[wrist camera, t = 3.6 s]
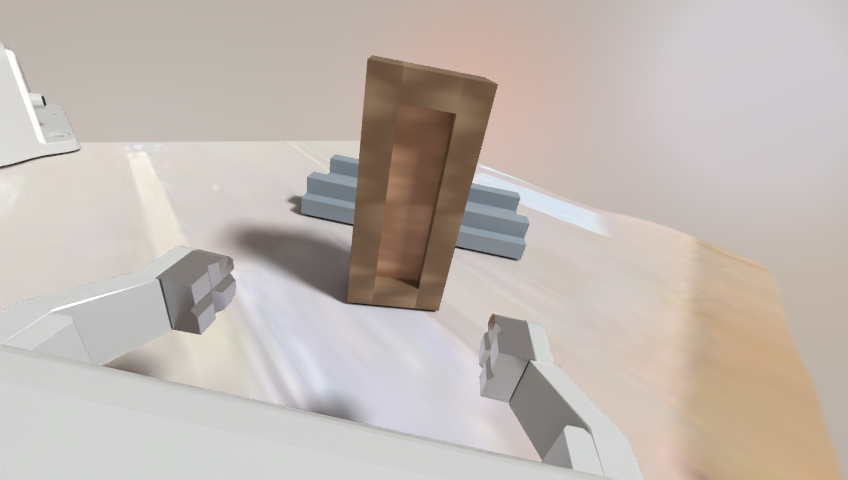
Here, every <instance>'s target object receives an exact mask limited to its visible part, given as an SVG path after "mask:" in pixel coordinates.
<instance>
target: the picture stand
mask: <svg viewBox="0 0 848 480" xmlns="http://www.w3.org/2000/svg"><path fill="white" fill-rule="evenodd" d="M358 166H359V159H354V158H349V157H345V156H340V155H334V156H333V157H332V158H331V161H330V173H329V174H327V175H326V174H321V173H316V172H313V173H312V174H311V175H309V176H308V177H307V193H306V194H305V195H304V196H303V197H302V198H301V213H302V214H307V215H312V216H316V217H321V218H326V219H331V220H335V221H340V222H345V223H350V224H354V212H355V201H356V189H357V178H358ZM519 200H520V196H519V193H516V192H511V191H507V190H502V189H497V188H492V187H488V186H483V185H478V184H473V183H472V185H471V188H470V192H469V196H468V200H467V204H466V207H465V211H464V215H463V219H462V223H461V226H460V230H459V234H458V238H457V242H456V246H458V247H463V248H468V249H473V250H477V251H482V252H487V253H492V254H496V255H501V256H506V257H510V258H515V259H520V260H521V257H522V254H523V252H524V249H525V246H526V244H525V241H524V237H525V234H526V231H527V229H528V226H529V222H528V219H527V217H526V216H521V215H517V214H516V209H517V206H518V203H519Z"/></svg>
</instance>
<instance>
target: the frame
mask: <svg viewBox="0 0 848 480" xmlns="http://www.w3.org/2000/svg"><path fill="white" fill-rule="evenodd" d="M497 85H498V84H496V83H494V82H492V81H490V80H488V79H486V78H484V77H480V76H475V75H470V74H465V73H459V72H454V71H449V70H444V69H439V68H434V67H428V66H423V65H418V64H413V63H408V62H403V61H398V60H393V59H388V58H382V57H378V56H373V55H372V56H371V57H370V58H368V61H367V73H366V84H365V97H364V108H363V119H362V131H361V143H360V154H359V166H358V178H357V189H356V201H355V212H354V224H353V236H352V247H351V259H350V271H349V282H348V294H347V302H351V303H362V304H373V305H383V306H394V307H405V308H416V309H426V310H437V311H438V310H439V306H440V303H441V299H442V295H443V291H444V287H445V284H446V280H447V276H448V272H449V268H450V265H451V261H452V257H453V253H454V249H455V246H456V242H457V238H458V234H459V230H460V226H461V223H462V219H463V215H464V211H465V207H466V204H467V200H468V196H469V192H470V188H471V185H472V181H473V177H474V173H475V169H476V166H477V162H478V158H479V154H480V150H481V146H482V143H483V139H484V135H485V131H486V127H487V124H488V119H489V116H490V112H491V108H492V105H493V100H494V97H495V93H496V89H497Z"/></svg>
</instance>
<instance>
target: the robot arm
mask: <svg viewBox="0 0 848 480" xmlns="http://www.w3.org/2000/svg"><path fill="white" fill-rule="evenodd" d="M80 148H81V146H80V144H79V142H78V140H77V138H76V135H75V133H74V131H73V129H72V127H71V125H70V122H69V120H68V118H67V116H66V114H65V111H64V109H63V107H62V106H61V105H58V104H53V103H47V102H45V99H44V97H43V96H41V94H40V93H31V91H30V88H29V86H28V83H27V80H26V77H25V75H24V72H23V70H22V67H21V65H20V62H19V60H18V59H17V58H16V57H15V55H14V53H13V52H12V51H11V50H10V49H9V48H8V47H7V46H6V45H5V44H4V43H3V42H2V41H1V40H0V166H4V165H9V164H13V163H17V162H20V161H24V160H27V159H31V158H34V157H38V156H43V155H50V154H57V153H63V152H69V151H74V150H78V149H80ZM233 269H234V265H233V259H231V258H230V257H228V256H224V255H220V254H216V253H212V252H207V251H203V250H199V249H194V248H190V247H185V246H177V247H175V248H174V249H172V250H171V251H169V252H168V253H166V254H165V255H163V256H162V257H160V258H159V259H157V260H156V261H154V262H153V263H151V264H150V265H149V266H147V267H146V268H144V269H143V270H141V271H140V272H138V273H137V274H131V273H129V274H125V275H121V276H118V277H114V278H110V279H106V280H102V281H99V282H95V283H91V284H87V285H83V286H79V287H76V288H72V289H68V290H64V291H60V292H56V293H53V294H49V295H45V296H41V297H37V298H34V299H30V300H26V301H22V302H18V303H16V304H14V305H12V306H10V307H8V308H7V309H5V310H3V311H1V312H0V480H644V478H643V475H642V473H641V471H640V468H639V466H638V463H637V461H636V458H635V456H634V453H633V451H632V449H631V446H630V444H629V441H628V439H627V437H626V436H625V435H624V434H623V433H622V431H621V430H620V429H619V428H618V427H617V426H616V425H615V424H614V423H613V422H612V421H611V420H610V419H609V418H608V417H607V416H606V415H605V414H604V413H603V412H602V411H601V410H600V408H599V407H598V406H597V405H596V404H595V403H594V402H593V401H592V400H591V399H590V398H589V397H588V396H587V395H586V394H585V393H584V392H583V391H582V390H581V389H580V388H579V387H578V385H577V384H576V383H575V382H574V381H573V380H572V379H571V378H570V377H569V376H568V375H567V374H566V373H565V372H564V371H563V370H562V369H561V368H560V367H559V366H555V365H554V362H553V358H552V355H551V351H550V348H549V344H548V340H547V337H546V333H545V330H544V326H543V325H542V324H541V323H536V322H531V321H526V320H525V321H524V320H519V319H514V318H510V317H505V316H500V315H495V314H492V316H491V317H490V320H489V322H488V332H487V333H485V334H484V336H483V339H482V342H481V346H480V353H479V365H480V366H481V367H482V369H483V370H482V372H481V375H480V393H481V396H483V397H487V398H491V399H495V400H499V401H503V402H507V403H509V406H510V407H511V409H512V411H513V412H514V414H515V416H516V417H517V419H518V421H519V422H520V424H521V426H522V427H523V429H524V431H525V432H526V434H527V436H528V437H529V439H530V441H531V442H532V444H533V446H534V447H535V449H536V451H537V452H538V454H539V456H540V457H541V459H542V462H536V461H532V460H527V459H523V458H518V457H514V456H509V455H505V454H500V453H495V452H491V451H486V450H482V449H477V448H473V447H468V446H464V445H459V444H455V443H450V442H446V441H441V440H436V439H432V438H427V437H423V436H418V435H414V434H409V433H405V432H400V431H395V430H391V429H386V428H382V427H377V426H373V425H368V424H364V423H359V422H354V421H350V420H345V419H341V418H336V417H332V416H327V415H323V414H318V413H314V412H309V411H304V410H300V409H295V408H291V407H286V406H282V405H277V404H273V403H268V402H264V401H259V400H254V399H250V398H245V397H241V396H236V395H232V394H227V393H223V392H218V391H214V390H209V389H204V388H200V387H195V386H191V385H186V384H182V383H177V382H173V381H168V380H163V379H159V378H154V377H150V376H145V375H141V374H136V373H132V372H127V371H123V370H118V369H113V368H109V367H104V366H102V365H104V364H106V363H108V362H110V361H112V360H114V359H116V358H118V357H120V356H122V355H124V354H126V353H128V352H130V351H132V350H134V349H136V348H138V347H140V346H142V345H144V344H146V343H148V342H150V341H152V340H154V339H156V338H158V337H160V336H162V335H164V334H166V333H168V332H170V331H172V330H171V329H173V330H178V331H183V332H189V333H194V334H199V335H201V334H202V333H203V332H204V331H205V330H206V329H207V328H208V327H209V326H210V325H211V323H212V322H213V321H214V320H215V319H216V317H215V313H216V312H219V311H221V310H224V309H225V308H226V307H227V306H228V305H229V304H230V303H231V301H232V299H233V297H234V295H235V290H236V281H235V279H234V278H233V276H232V275H231V274H230V272H231V271H232V270H233Z"/></svg>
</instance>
